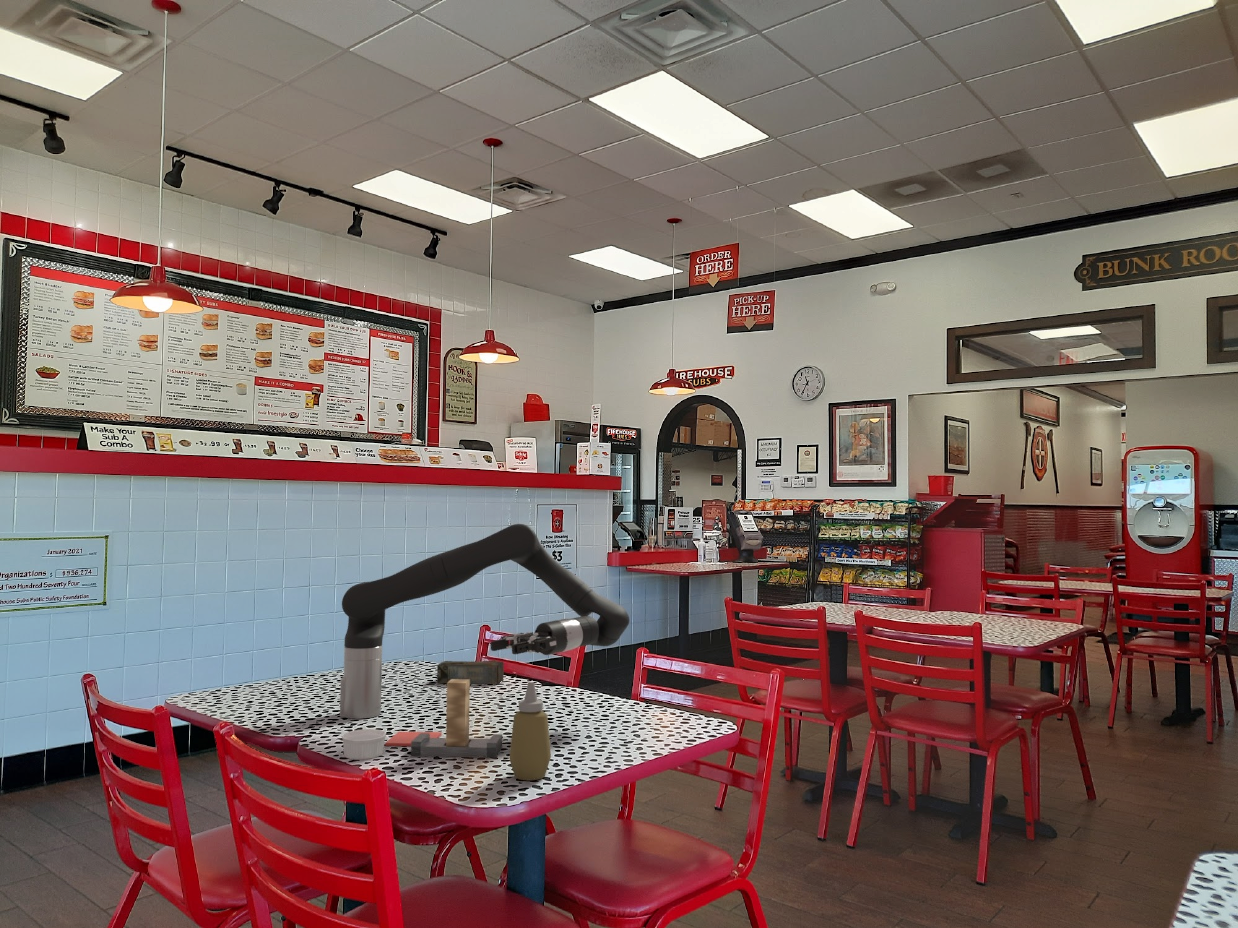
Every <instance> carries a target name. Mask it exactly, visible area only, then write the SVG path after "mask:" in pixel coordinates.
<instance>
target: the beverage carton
mask: <svg viewBox="0 0 1238 928" xmlns="http://www.w3.org/2000/svg"><path fill="white" fill-rule="evenodd" d="M504 663H505V662H504V661H500V660H495V659H493V660H482V661H481V660H480V661H479V660H478V661H477V660H476V661H472V660H471V661H470V660H469V661H465V660H464V661H463V660H462V661H459V660H458V661H456V660H455V661H454V660H445V661H441V662H440V663H439V664H437V665H436V671H437V672H436V684H437V683H447V682H449V681H450V680H451V679H470V684H498V685H499V684H501V683H502V682H503V681H504V675H505V674H504V673H505V672H504V671H505V670H504ZM501 681H502V682H501ZM500 682H501V683H500Z"/></svg>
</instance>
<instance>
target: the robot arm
mask: <svg viewBox="0 0 1238 928" xmlns="http://www.w3.org/2000/svg"><path fill="white" fill-rule="evenodd" d="M507 561H512V562H514V563H516V564H518V565H520V566H521V567H523V568H525V569H526V570H528V572H530V573H532V574H534V576H536V577H537V578H538V579H540V580H541V581H542V582H543V583H545V585H546V586H547V587H548V588H549V589H550V590H551V591H552V592H553V593H554V594H555V595H556V596H557V597H558V598H560V599H561V601H562V602H564V603H565V605H567V606H568V607H569V608H570V609H571V610H572V611H574V612H575V613H576V614H577V615H578V617H577V616H576V617H573V618H563V619H562V618H560V619H556V620H551V621H546V622H541V623H538V625H537V627H536V628H535V630H534V632H533V631H528V632H527V631H526V633H524V632H519V633H515V634H514V633H513V634H507V635H503V636H501V639H496V640H492V641H490V642H489V643H490V651H492V652H497V651H502V650H508V649H511V653H512V654H513V655H520V654H525V653H529V654H530V653H536V654H542V655H544V656H550V655H555V654H559V653H564V652H567V651H572V650H575V649H576V648H581V647H585V646H596V647H608V646H612V645H614V644H615V643H617V642H618V641H619V639H620V638H621V637H622V636H623V633H624V632H625V630H627V627H628V626H629V624H630V620H631V619H630V616H629V614H628V611H626V609H625V608H624V607H623V606H621V605H620V604H618V603H617V602H614V601H612V600H610V599H608V598H606V597H605V596H602V595H600V594H599V593H596V591H594V590H593V589H592V588H591V587H590V586H589V585H588V584H587V583H585V582H584V581H583V580H582V579H581V578H580V577H578V576H577V575H576V574H574V573H573V572H572V571H570V570H568V569H567V568H566V567H564V565H562V564H561V563H559V562H558V561H557V560H556V558H554V557H553V556H552V555H550V553H549V552H548V550H546V549H545V547H544V546H543V544H542V543H541V542H540V540H539V538H538V535H537V534H536V533H535V531H534V530H533V528H532V527H530V526H529V525H527V524H523V523H516V524H511V525H509V526H507V527H505V528H502V529H500V530H499V531H497V532H494V533H492V534H491V535H489V536H487V537H484V538H482V539H479V540H477V541H474V542H470V543H467V544H464V545H462V546H459V547H456V548H452V549H450V550H447V551H443V552H441V553H438V554H435V555H432V556H430V557H428V558H425V559H423V560H421V561H418V562H417V563H414V564H412V565H410V566H408V567H406V568H404V569H402V570H400V571H398V572H396V573H394V574H392V575H389V576H387V577H382V578H379V579H376V580H371V581H364V582H359V583H357V584H354V585H352V586H350V587H349V588H348V589H347V590H346V592H345V593H344V595H343V597H342V600H341V608H342V611H343V613H344V614H345V615H346V616H348V620H347V622H348V623H347V629H346V633H345V635H344V646H343V647H344V648H343V649H344V650H343V651H344V653H343V654H344V655H343V676H342V677H341V678H340V691H339V692H340V693H339V697H340V698H339V717H340V718H341V717H342V718H347V719H368V718H369V719H370V718H373V717H377V716H380V715H381V714H382V677H383V676H382V674H383V673H382V672H383V669H382V668H383V638H384V634H385V628H386V627H385V624H386V621H385V620H386V610H387V609H390V608H392V607H394V606H396V605H399V604H401V603H404V602H405V603H406V602H410V601H413V600H417V599H420V598H424V597H428V596H432V595H434V594H438V593H441V592H443V591H447V590H449V589H452V588H454V587H457V586H459V585H461V584H463V583H465V582H467V581H468V580H470V579H471V578H473V577H474V576H476V575H477V574H479V573H480V572H481V571H483V570H486V569H487V568H489V567H492V566H494V565H497V564H500V563H503V562H504V563H505V562H507ZM592 613H593V614H596V615H599V617H598V618H597V620H596V619H595V618H594V617H592V616H590V615H592Z"/></svg>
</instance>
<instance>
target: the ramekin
mask: <svg viewBox="0 0 1238 928" xmlns="http://www.w3.org/2000/svg"><path fill="white" fill-rule="evenodd" d="M386 735H387V733H386V732H385V730H381V729H374V728H373V729H372V728H368V729H367V728H364V729H356V730H352V731H348V732H345V733H343V734H342V736H341V738H342V745H343V755H344V757H345V758H346V759H347V760H348V759H349V760H354V761H355V760H356V761H359V760H371V759H375V758H379V757H380V756H382V755H383V754H384V748H385V742H386V741H385V739H386Z"/></svg>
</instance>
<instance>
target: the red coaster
mask: <svg viewBox="0 0 1238 928" xmlns="http://www.w3.org/2000/svg"><path fill="white" fill-rule="evenodd" d="M442 732H443V731H398V732H396V733H395V734H394V735H393V736H392V737H391V738H389V739H388V740H387V741H385V742H384V747H411V741H413V740H414V739H415V738H416V737H417V736H418V735H419V734H420V733H430V738H440V737H441V736H442ZM439 736H440V737H439Z"/></svg>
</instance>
